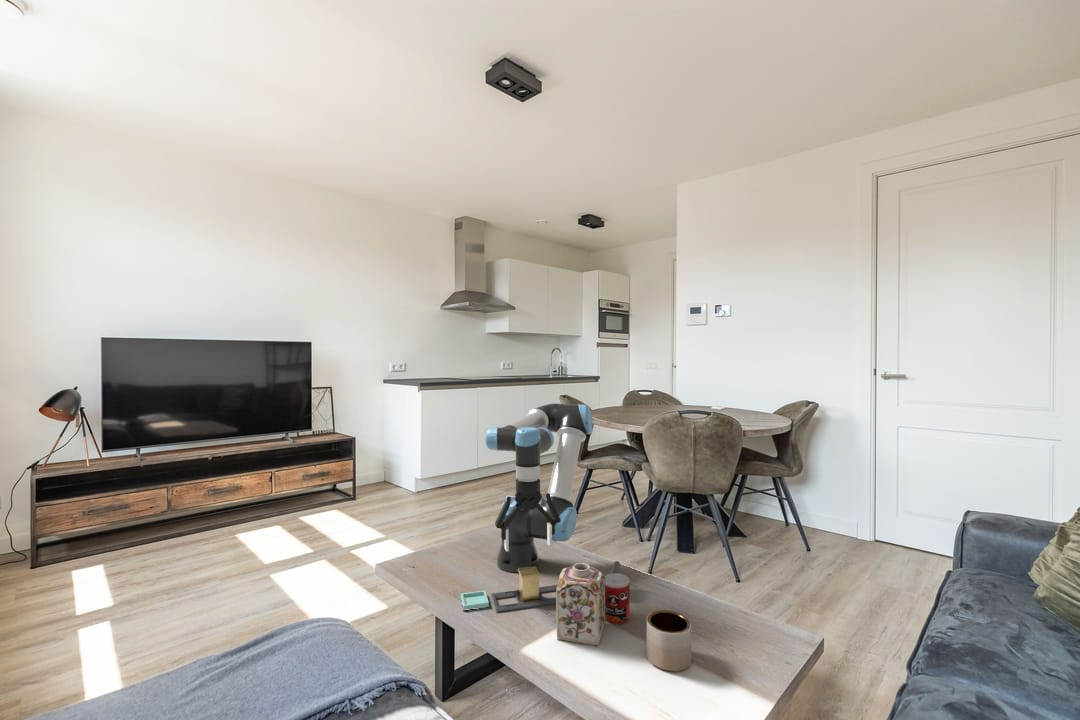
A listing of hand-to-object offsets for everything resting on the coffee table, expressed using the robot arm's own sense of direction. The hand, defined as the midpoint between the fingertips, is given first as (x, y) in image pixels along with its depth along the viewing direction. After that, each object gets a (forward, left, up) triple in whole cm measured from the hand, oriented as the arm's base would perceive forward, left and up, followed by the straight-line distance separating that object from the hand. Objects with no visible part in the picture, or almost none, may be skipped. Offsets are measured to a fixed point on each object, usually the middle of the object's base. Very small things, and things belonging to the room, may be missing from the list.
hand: (528, 547), depth 149 cm
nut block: (0, 0, -16) cm, 16 cm away
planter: (-27, +37, -17) cm, 49 cm away
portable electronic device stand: (-26, +2, -17) cm, 31 cm away
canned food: (-22, +16, -17) cm, 32 cm away
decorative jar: (-10, +20, -17) cm, 28 cm away
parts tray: (+16, -3, -16) cm, 23 cm away
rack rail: (0, 0, -16) cm, 16 cm away
